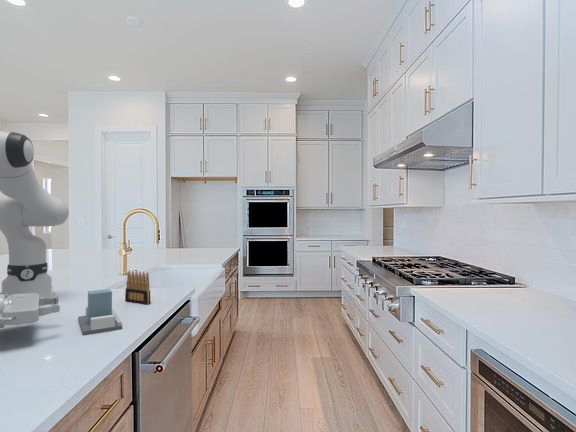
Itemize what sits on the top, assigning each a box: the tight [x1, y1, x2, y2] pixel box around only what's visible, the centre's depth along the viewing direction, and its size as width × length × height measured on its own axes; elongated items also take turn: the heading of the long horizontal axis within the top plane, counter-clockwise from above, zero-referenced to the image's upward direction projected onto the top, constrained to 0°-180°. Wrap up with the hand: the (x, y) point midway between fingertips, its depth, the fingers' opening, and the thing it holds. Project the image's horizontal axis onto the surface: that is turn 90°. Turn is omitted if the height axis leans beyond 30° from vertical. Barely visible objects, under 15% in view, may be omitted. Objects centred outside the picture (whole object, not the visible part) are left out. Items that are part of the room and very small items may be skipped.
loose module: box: [87, 288, 113, 325], centre depth 105 cm, size 4×6×9 cm
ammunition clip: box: [124, 270, 151, 306], centre depth 130 cm, size 11×2×12 cm, turn 69°
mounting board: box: [77, 305, 123, 336], centre depth 105 cm, size 16×10×4 cm, turn 35°
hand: (59, 304), depth 99 cm, fingers open, 8 cm apart
